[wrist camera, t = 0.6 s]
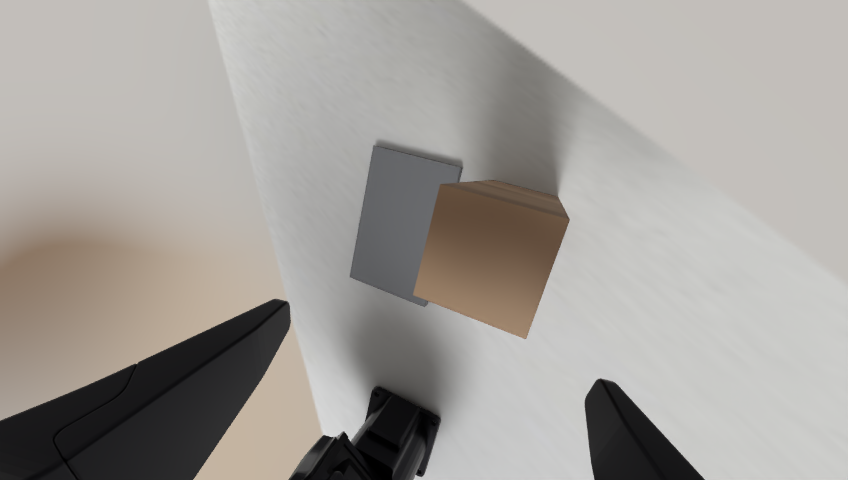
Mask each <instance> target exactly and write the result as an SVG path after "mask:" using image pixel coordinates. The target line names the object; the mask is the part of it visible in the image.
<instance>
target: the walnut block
mask: <svg viewBox="0 0 848 480" xmlns="http://www.w3.org/2000/svg"><path fill="white" fill-rule="evenodd" d="M569 220H570V219H569V217H568V215H567V213H566V211H565V209H564V207H563V205H562V204H561V202H560V200H559V198H558V197H556V196H552V195H549V194H545V193H541V192H537V191H533V190H529V189H525V188H521V187H518V186H514V185H510V184H506V183H502V182H498V181H494V180H488V181H474V182H460V183H447V184H440V187H439V191H438V195H437V199H436V203H435V207H434V211H433V215H432V219H431V223H430V228H429V232H428V236H427V240H426V244H425V248H424V252H423V256H422V260H421V264H420V268H419V273H418V277H417V281H416V285H415V289H414V293H413V295H414V296H417V297H419V298H422V299H425V300H427V301H430V302H432V303H435V304H437V305H440V306H442V307H445V308H448V309H450V310H453V311H455V312H458V313H460V314H463V315H465V316H468V317H470V318H473V319H476V320H478V321H481V322H483V323H486V324H488V325H491V326H493V327H496V328H498V329H501V330H504V331H506V332H509V333H511V334H514V335H516V336H519V337H521V338H524V339H526V338H527V335H528V332H529V329H530V327H531V324H532V321H533V319H534V316H535V313H536V310H537V308H538V305H539V302H540V299H541V297H542V294H543V291H544V289H545V286H546V283H547V280H548V278H549V275H550V272H551V269H552V267H553V264H554V261H555V259H556V256H557V253H558V250H559V248H560V245H561V242H562V239H563V237H564V234H565V231H566V229H567V226H568V223H569Z"/></svg>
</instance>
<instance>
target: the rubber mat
mask: <svg viewBox="0 0 848 480" xmlns="http://www.w3.org/2000/svg"><path fill="white" fill-rule="evenodd" d="M462 169H463V168H461V167H457V166H453V165H449V164H445V163H441V162H437V161H434V160H430V159H426V158H422V157H418V156H414V155H410V154H406V153H402V152H398V151H394V150H390V149H386V148H382V147H378V146H373V151H372V157H371V163H370V168H369V174H368V179H367V185H366V190H365V196H364V201H363V207H362V212H361V218H360V223H359V229H358V234H357V240H356V245H355V251H354V256H353V262H352V267H351V273H350V277H351V278H353V279H356V280H358V281H361V282H363V283H366V284H368V285H371V286H373V287H376V288H378V289H381V290H383V291H386V292H388V293H391V294H393V295H396V296H398V297H401V298H403V299H406V300H408V301H411V302H413V303H416V304H418V305H421V306H423V307H425V306H426V305H427V303H428V301H427V300H425V299H422V298H419V297H417V296H414V295H413V293H414V289H415V285H416V281H417V277H418V273H419V268H420V264H421V260H422V256H423V252H424V248H425V244H426V240H427V236H428V232H429V228H430V223H431V219H432V215H433V211H434V207H435V203H436V199H437V195H438V191H439V187H440V184H447V183H459V180H460V176H461V173H462Z"/></svg>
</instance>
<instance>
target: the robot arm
mask: <svg viewBox="0 0 848 480" xmlns="http://www.w3.org/2000/svg"><path fill="white" fill-rule="evenodd" d="M290 323H291V320H290V305H289V303H288V302H287V301H283V300H279V299H273V300H271V301H269V302H266V303H264V304H262V305H260V306H258V307H256V308H254V309H251V310H249V311H247V312H245V313H243V314H241V315H239V316H236V317H234V318H232V319H230V320H228V321H226V322H224V323H221V324H219V325H217V326H215V327H213V328H211V329H209V330H206V331H204V332H202V333H200V334H198V335H196V336H193V337H191V338H189V339H187V340H185V341H183V342H181V343H178V344H176V345H174V346H172V347H170V348H168V349H166V350H164V351H161V352H159V353H157V354H155V355H153V356H151V357H148V358H146V359H144V360H142V361H140V362H138V364H133V365H131V366H129V367H127V368H125V369H122V370H120V371H118V372H116V373H114V374H112V375H109V376H107V377H105V378H103V379H100V380H98V381H96V382H94V383H91V384H89V385H87V386H85V387H82V388H80V389H77V390H75V391H73V392H70V393H68V394H65V395H63V396H60V397H58V398H56V399H53V400H51V401H48V402H46V403H43V404H41V405H38V406H36V407H33V408H31V409H28V410H26V411H24V412H21V413H18V414H16V415H13V416H11V417H8V418H6V419H4V420H1V421H0V480H193V479H194V478H195V476H196V475H197V473H198V472H199V470H200V469H201V467H202V466H203V465H204V463H205V462H206V460H207V459H208V457H209V456H210V454H211V452H212V451H213V450H214V448H215V447H216V445H217V444H218V443H219V441H220V440H221V438H222V437H223V435H224V434H225V432H226V430H227V429H228V428H229V426H230V425H231V423H232V422H233V420H234V419H235V418H236V416H237V415H238V413H239V411H240V410H241V409H242V407H243V406H244V404H245V403H246V401H247V400H248V398H249V397H250V396H251V394H252V393H253V391H254V390H255V388H256V387H257V385H258V384H259V382H260V381H261V379H262V378H263V376H264V374H265V372H266V371H267V369H268V367H269V365H270V363H271V362H272V360H273V358H274V356H275V354H276V352H277V350H278V349H279V347H280V345H281V343H282V341H283V339H284V337H285V336H286V334H287V332H288V330H289V327H290ZM377 392H378V393H379V394H378V393H377ZM585 412H586V421H587V430H588V440H589V449H590V457H591V464H592V469H593V475H594V479H595V480H705V479H704V478H703V477H702V476H701V475H700V474H699V473H698V472H697V471H696V470H695V469H694V467H693V466H692V465H691V464H690V463H689V462H688V461H687V460H686V459H685V458H684V457H683V455H682V454H681V453H680V452H679V451H678V450H677V449H676V448H675V447H674V446H673V445H672V444H671V442H670V441H669V440H668V439H667V438H666V437H665V436H664V435H663V434H662V433H661V432H660V430H659V429H658V428H657V427H656V426H655V425H654V424H653V423H652V422H651V421H650V420H649V419H648V417H647V416H646V415H645V414H644V413H643V412H642V411H641V410H640V409H639V408H638V407H637V405H636V404H635V403H634V402H633V401H632V400H631V399H630V398H629V397H628V396H627V395H626V394H625V392H624V391H623V390H622V389H621V388H620V387H619V386H618V385H617V384H616V383H615V382H613V381H609V380H605V379H598V380H596V381H595V383H594V385H593V386H592V388H591V389H590V391H589V393H588V394H587V396H586V398H585ZM433 421H435V422H436V423H435V422H433ZM439 425H440V418H439V417H438V416H437V415H435V414H433V413H431V412H429V411H427V410H425V409H423V408H421V407H419V406H417V405H415V404H413V403H411V402H409V401H407V400H405V399H403V398H401V397H399V396H397V395H395V394H393V393H391V392H389V391H387V390H385V389H383V388H381V387H378V386H377V387H375V388H374V389H373V390H372V393H371V398H370V402H369V407H368V411H367V415H366V420H365V423H364V424H363V426H362V427H361V428H360V430H359V431H358V432H357V434H356V435H355V436H354V438H353V439H352V440H351V442H350V440H349V439H348V436H347V435H346V433H345V432H344V431H343V432H342V433H341V434H340V435H338V436H337V437H334V438H333V437H329V436H325V435H323V436H322V437H321V438H320V439H319V440H318V441H317V442H316V443H315V445H314V446H313V447H312V448H311V449H310V450H309V452H308V453H307V454H306V455H305V456H304V458H303V459H302V460H301V462H300V463H299V465H298V466H297V468H296V469H295V471H294V472H293V474H292V475H291V477H290V478H289V480H413V479H414V477H415V475H417V476H419V477H422V476H423V475H424V473H425V471H426V468H427V465H428V461H429V458H430V455H431V451H432V448H433V445H434V442H435V438H436V435H437V432H438V429H439ZM419 469H420V470H419Z"/></svg>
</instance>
